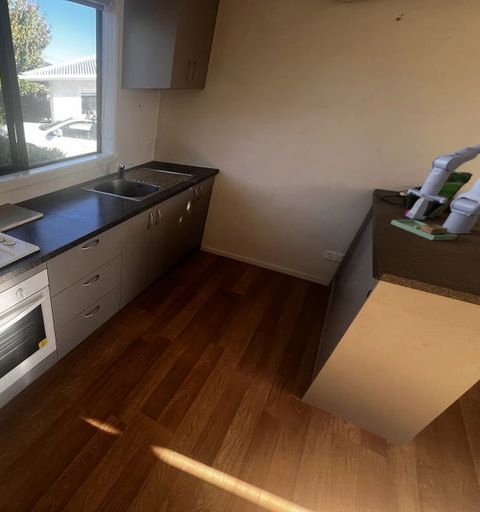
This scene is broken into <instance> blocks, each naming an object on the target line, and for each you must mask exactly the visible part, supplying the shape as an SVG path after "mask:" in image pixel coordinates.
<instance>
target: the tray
mask: <svg viewBox="0 0 480 512" xmlns="http://www.w3.org/2000/svg"><path fill="white" fill-rule="evenodd" d="M390 225H393V226H395V227H398V228H399V229H403V230H405V231H407V232H409V233H412V234H415V235H417V236H419V237H423V238H425V239H427V240H430V241H453V240H456V239H457V238H458V236H459V235H458V234H454V233H451V232H448V231H446V232H445V234H444V235H438V236H434V235H431V234H429V233H426V232H424V231H421V230H420V229H421V228H414V226H422V225H429V224H427V223H425V222H422V221H420V220H414V219H392V220H391V222H390Z"/></svg>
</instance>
